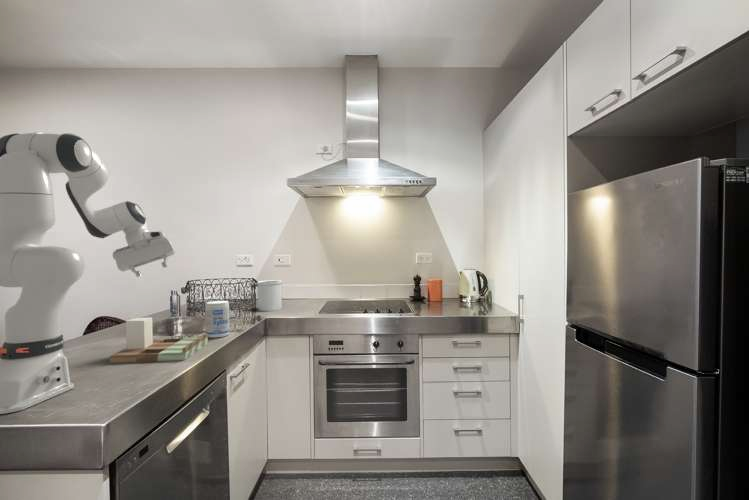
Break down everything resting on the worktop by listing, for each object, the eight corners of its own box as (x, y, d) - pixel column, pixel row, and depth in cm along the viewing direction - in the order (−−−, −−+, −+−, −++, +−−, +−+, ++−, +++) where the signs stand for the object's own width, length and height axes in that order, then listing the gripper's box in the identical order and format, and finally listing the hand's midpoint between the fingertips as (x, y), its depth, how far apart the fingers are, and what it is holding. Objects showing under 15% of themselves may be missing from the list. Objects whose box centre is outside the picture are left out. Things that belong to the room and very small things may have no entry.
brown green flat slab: (185, 359, 126) (185, 348, 126) (110, 363, 124) (110, 351, 123) (207, 343, 148) (207, 333, 148) (144, 346, 145) (143, 335, 145)
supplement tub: (215, 339, 154) (214, 304, 154) (200, 337, 159) (200, 302, 159) (234, 334, 163) (233, 301, 163) (220, 332, 167) (219, 299, 167)
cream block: (144, 348, 132) (144, 320, 132) (126, 349, 132) (126, 321, 131) (152, 344, 138) (152, 317, 138) (135, 344, 138) (135, 318, 137)
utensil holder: (278, 311, 221) (278, 282, 221) (254, 311, 221) (253, 282, 221) (285, 307, 236) (284, 279, 236) (262, 307, 236) (261, 280, 236)
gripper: (108, 247, 141) (119, 278, 137) (166, 230, 150) (178, 258, 146) (113, 254, 146) (124, 284, 142) (169, 237, 155) (180, 265, 151)
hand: (152, 271), depth 144 cm, fingers open, 8 cm apart
